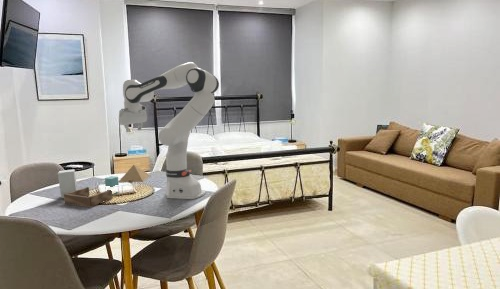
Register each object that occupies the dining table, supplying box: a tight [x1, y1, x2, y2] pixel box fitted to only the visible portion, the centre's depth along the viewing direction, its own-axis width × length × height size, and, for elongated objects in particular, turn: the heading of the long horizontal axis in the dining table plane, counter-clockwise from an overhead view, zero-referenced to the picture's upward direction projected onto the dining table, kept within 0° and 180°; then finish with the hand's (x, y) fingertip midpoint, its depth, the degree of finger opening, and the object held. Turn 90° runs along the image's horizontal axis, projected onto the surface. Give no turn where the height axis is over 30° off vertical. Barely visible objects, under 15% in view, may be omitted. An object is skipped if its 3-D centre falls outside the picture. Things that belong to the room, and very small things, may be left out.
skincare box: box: [57, 168, 79, 199], centre depth 201 cm, size 8×6×15 cm
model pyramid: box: [118, 164, 151, 183], centre depth 238 cm, size 17×17×10 cm
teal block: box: [104, 175, 120, 187], centre depth 206 cm, size 5×5×9 cm
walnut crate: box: [63, 186, 113, 208], centre depth 192 cm, size 15×18×5 cm
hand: (134, 131), depth 213 cm, fingers open, 8 cm apart
